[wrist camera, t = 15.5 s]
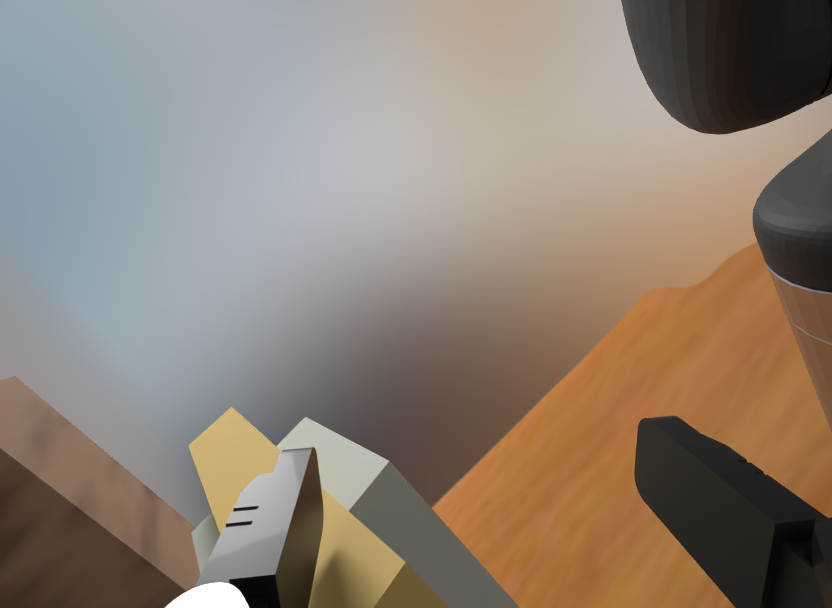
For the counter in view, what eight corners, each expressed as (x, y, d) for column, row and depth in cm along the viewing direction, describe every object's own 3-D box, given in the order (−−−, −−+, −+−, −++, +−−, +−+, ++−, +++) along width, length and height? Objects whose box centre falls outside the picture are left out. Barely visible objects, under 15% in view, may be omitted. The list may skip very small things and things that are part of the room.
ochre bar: (264, 439, 26) (231, 406, 26) (484, 641, 9) (405, 561, 8) (225, 479, 25) (188, 445, 24) (394, 800, 8) (289, 727, 7)
